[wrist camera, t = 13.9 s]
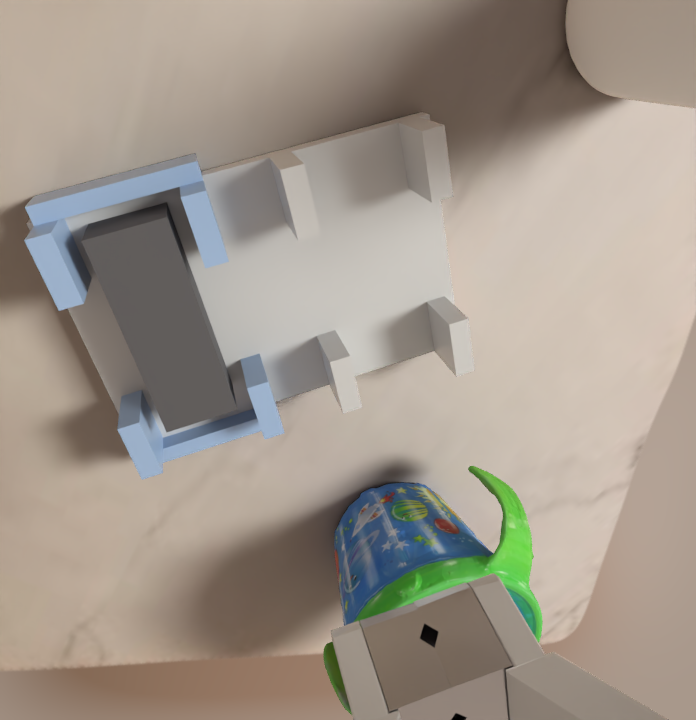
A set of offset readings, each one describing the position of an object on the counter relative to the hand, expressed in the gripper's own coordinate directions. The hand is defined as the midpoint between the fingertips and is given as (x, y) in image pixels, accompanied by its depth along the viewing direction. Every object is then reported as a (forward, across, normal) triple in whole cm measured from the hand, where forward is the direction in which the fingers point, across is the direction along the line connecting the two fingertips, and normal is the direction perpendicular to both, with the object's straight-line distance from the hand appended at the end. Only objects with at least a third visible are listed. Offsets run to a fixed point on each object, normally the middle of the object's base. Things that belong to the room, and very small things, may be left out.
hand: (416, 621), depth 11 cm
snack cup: (+22, -3, +20) cm, 30 cm away
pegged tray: (+22, 0, +3) cm, 22 cm away
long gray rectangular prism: (+21, +5, +2) cm, 22 cm away
